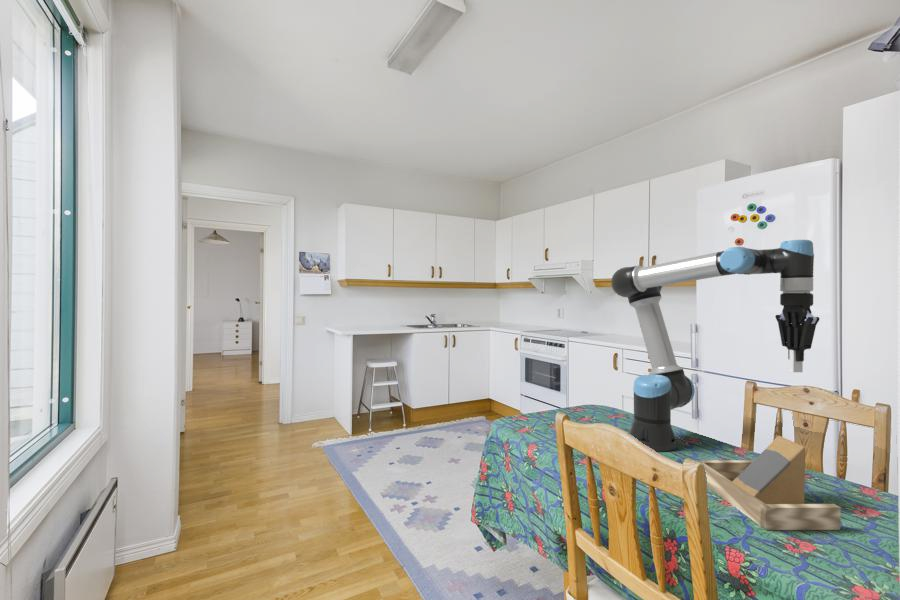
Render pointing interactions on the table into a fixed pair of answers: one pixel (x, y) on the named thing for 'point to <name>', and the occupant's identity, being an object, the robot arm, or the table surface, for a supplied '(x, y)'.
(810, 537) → the table surface
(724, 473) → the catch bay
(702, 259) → the robot arm
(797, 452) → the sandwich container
